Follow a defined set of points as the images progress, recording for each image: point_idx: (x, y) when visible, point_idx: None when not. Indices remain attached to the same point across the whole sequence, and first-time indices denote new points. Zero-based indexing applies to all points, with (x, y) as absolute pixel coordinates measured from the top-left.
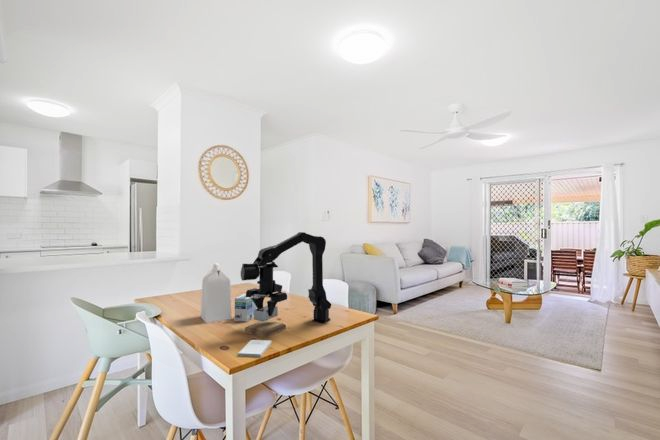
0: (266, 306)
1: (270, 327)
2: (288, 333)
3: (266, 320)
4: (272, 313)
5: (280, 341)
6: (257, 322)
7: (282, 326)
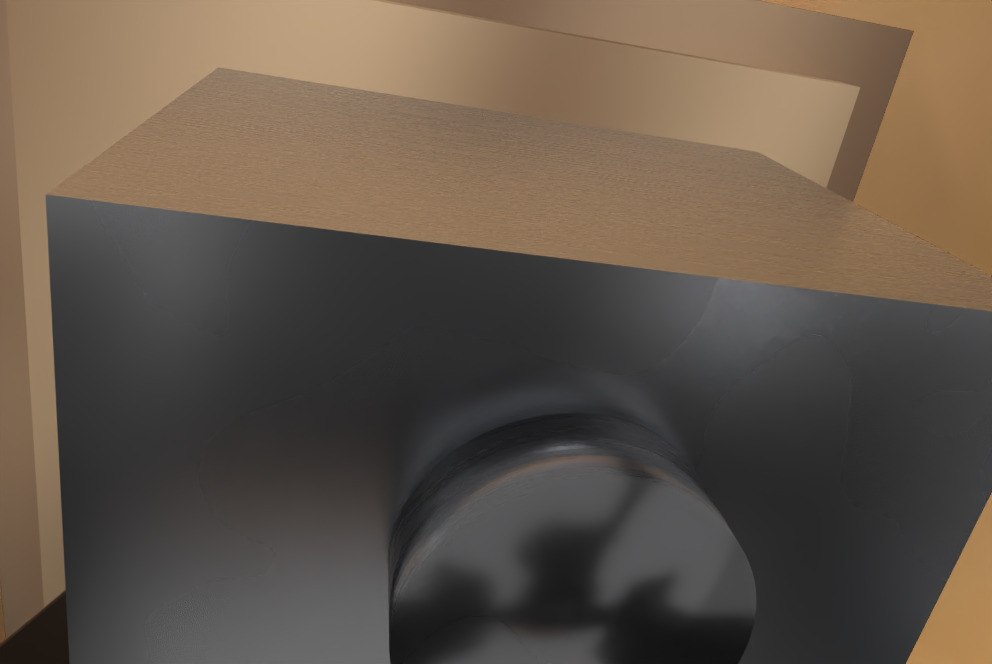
0: (206, 621)
1: None
2: (982, 258)
3: (156, 31)
4: None
5: (937, 609)
6: (39, 338)
7: (847, 179)
